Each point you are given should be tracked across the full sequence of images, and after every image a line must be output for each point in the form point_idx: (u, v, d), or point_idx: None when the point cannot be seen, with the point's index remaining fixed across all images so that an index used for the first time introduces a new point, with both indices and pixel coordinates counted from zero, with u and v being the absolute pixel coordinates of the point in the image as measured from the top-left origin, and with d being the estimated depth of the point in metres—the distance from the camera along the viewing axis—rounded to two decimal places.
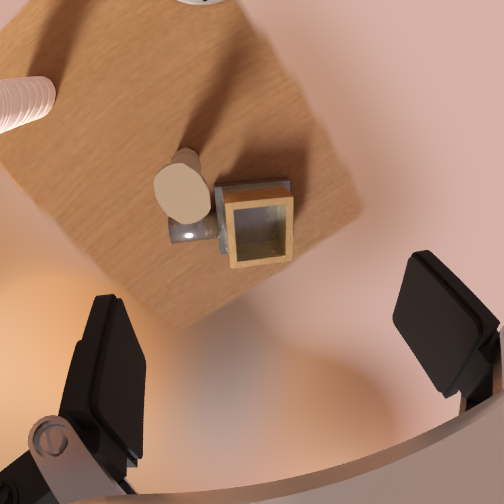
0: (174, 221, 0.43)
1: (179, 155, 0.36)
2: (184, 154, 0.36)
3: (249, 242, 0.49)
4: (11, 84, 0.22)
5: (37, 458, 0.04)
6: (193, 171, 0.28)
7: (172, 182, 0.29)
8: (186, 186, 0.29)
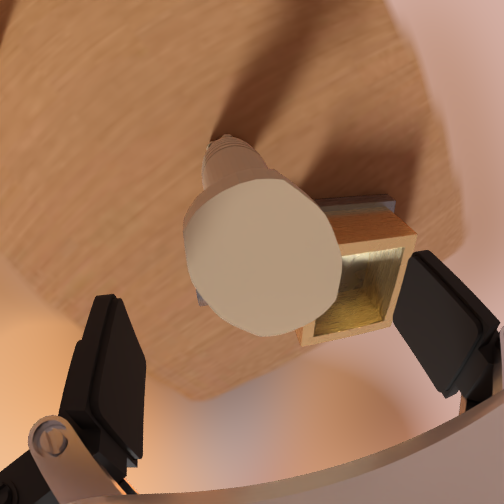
0: None
1: (227, 150, 0.16)
2: (238, 148, 0.17)
3: None
4: None
5: (37, 458, 0.04)
6: (312, 206, 0.09)
7: (243, 237, 0.10)
8: (283, 249, 0.10)
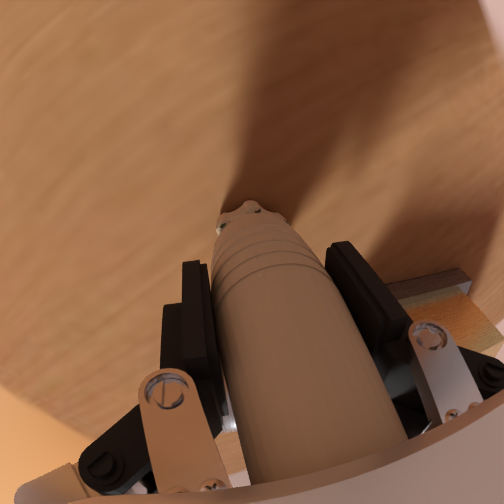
0: None
1: (270, 284, 0.08)
2: (293, 278, 0.08)
3: None
4: None
5: (153, 412, 0.05)
6: None
7: None
8: None
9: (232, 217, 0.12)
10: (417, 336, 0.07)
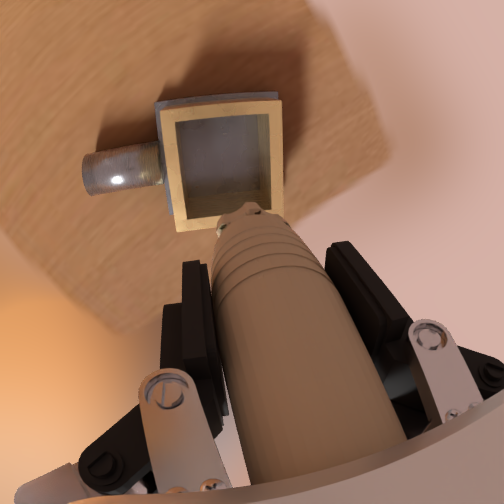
0: (91, 157, 0.24)
1: (270, 286, 0.08)
2: (293, 280, 0.08)
3: (214, 195, 0.30)
4: None
5: (153, 412, 0.05)
6: None
7: None
8: None
9: (232, 219, 0.12)
10: (417, 336, 0.07)
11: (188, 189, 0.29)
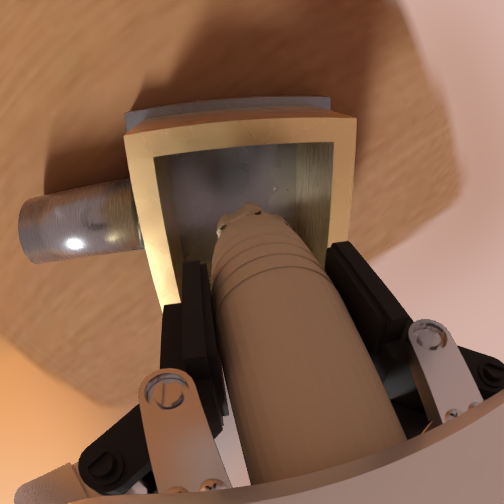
0: (31, 209, 0.14)
1: (270, 287, 0.08)
2: (293, 281, 0.08)
3: None
4: None
5: (153, 412, 0.05)
6: None
7: None
8: None
9: (232, 219, 0.12)
10: (417, 336, 0.07)
11: (185, 252, 0.19)
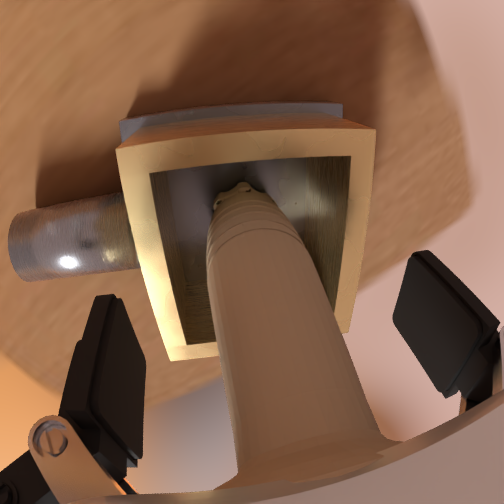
0: (21, 224, 0.13)
1: (249, 242, 0.10)
2: (268, 238, 0.10)
3: None
4: None
5: (37, 458, 0.04)
6: None
7: None
8: None
9: (227, 195, 0.15)
10: None
11: (186, 269, 0.18)
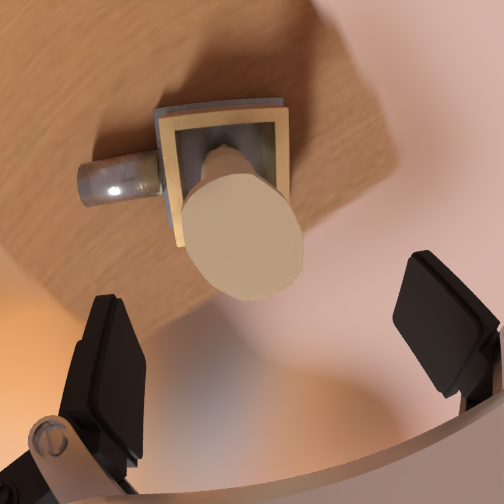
0: (87, 167, 0.23)
1: (221, 157, 0.20)
2: (230, 155, 0.20)
3: None
4: None
5: (37, 458, 0.04)
6: (275, 194, 0.13)
7: (224, 217, 0.13)
8: (255, 227, 0.13)
9: None
10: None
11: None
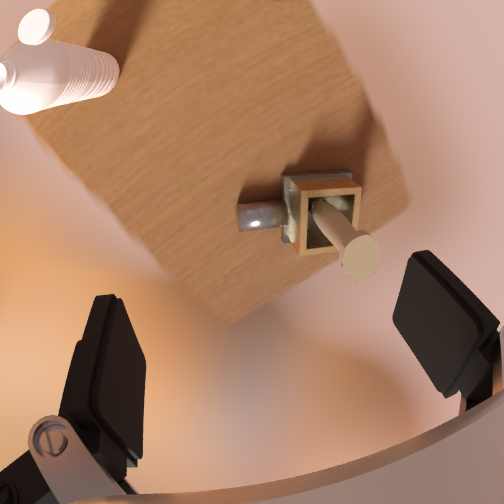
0: (244, 209, 0.44)
1: (333, 213, 0.41)
2: (336, 212, 0.41)
3: (311, 232, 0.49)
4: (87, 50, 0.23)
5: (37, 458, 0.04)
6: (375, 241, 0.34)
7: (358, 249, 0.34)
8: (367, 252, 0.35)
9: (316, 202, 0.46)
10: None
11: None
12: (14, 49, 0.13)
